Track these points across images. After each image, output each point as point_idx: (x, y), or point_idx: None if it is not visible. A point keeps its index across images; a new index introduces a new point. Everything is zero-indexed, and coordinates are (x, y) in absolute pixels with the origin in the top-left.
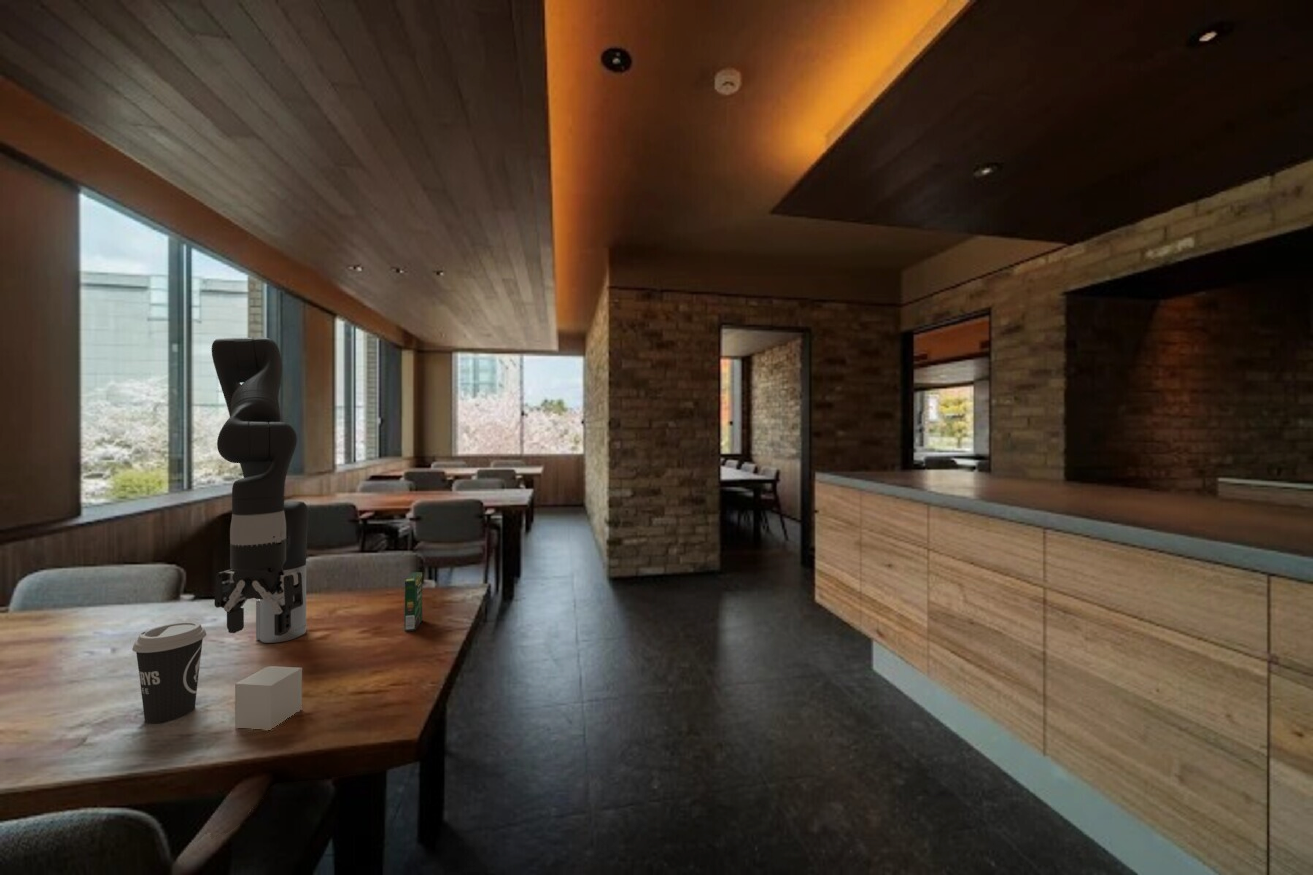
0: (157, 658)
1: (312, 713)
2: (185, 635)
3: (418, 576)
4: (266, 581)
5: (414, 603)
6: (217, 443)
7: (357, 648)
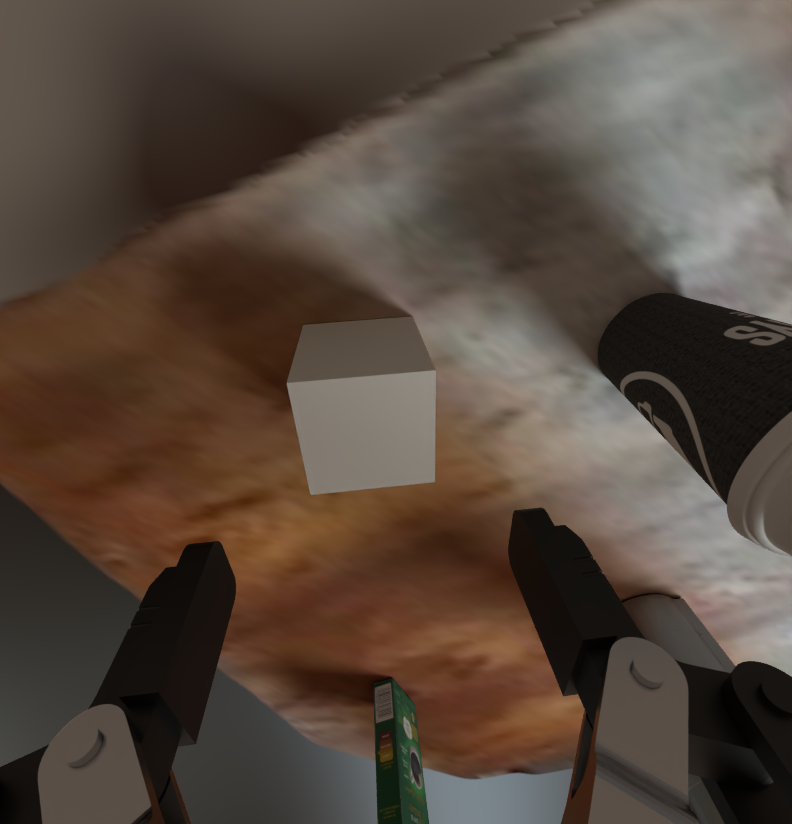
0: None
1: (275, 410)
2: None
3: None
4: None
5: (377, 757)
6: None
7: (434, 619)
